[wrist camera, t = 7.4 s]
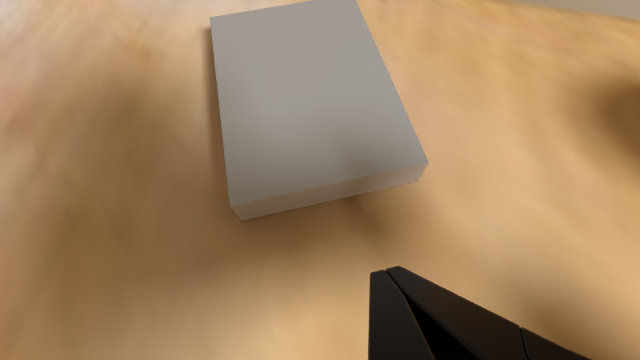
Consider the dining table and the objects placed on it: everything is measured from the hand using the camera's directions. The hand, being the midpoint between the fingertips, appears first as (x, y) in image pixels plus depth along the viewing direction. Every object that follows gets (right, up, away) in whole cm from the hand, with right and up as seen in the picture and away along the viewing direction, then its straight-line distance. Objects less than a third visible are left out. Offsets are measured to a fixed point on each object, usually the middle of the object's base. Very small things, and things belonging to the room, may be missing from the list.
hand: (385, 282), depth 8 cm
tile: (-1, +2, +8) cm, 8 cm away
